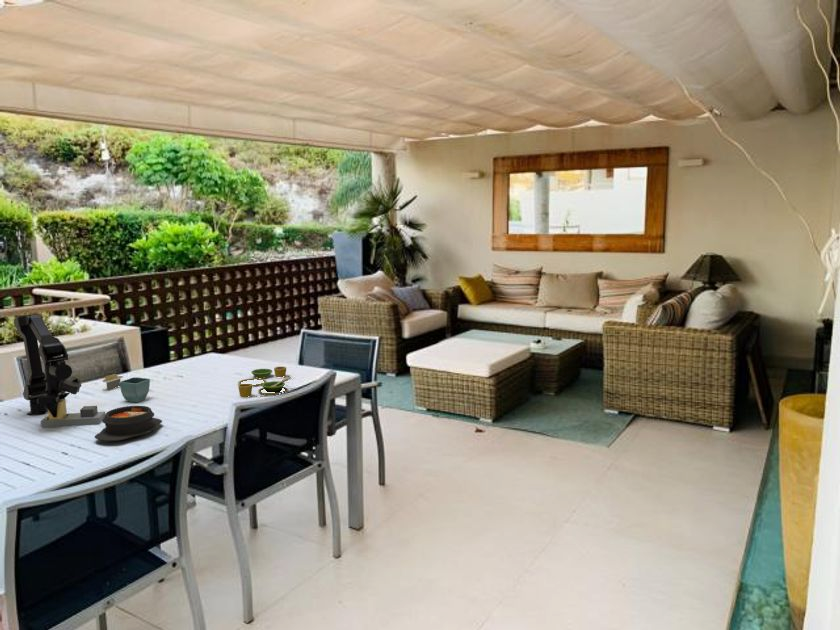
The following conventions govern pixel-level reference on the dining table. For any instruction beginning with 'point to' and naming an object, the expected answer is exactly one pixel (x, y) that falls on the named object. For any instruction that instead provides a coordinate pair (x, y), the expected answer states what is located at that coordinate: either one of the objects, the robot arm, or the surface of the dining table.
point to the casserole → (127, 423)
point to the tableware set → (272, 386)
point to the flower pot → (135, 389)
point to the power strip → (76, 418)
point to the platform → (112, 381)
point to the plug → (59, 411)
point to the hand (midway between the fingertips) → (57, 415)
